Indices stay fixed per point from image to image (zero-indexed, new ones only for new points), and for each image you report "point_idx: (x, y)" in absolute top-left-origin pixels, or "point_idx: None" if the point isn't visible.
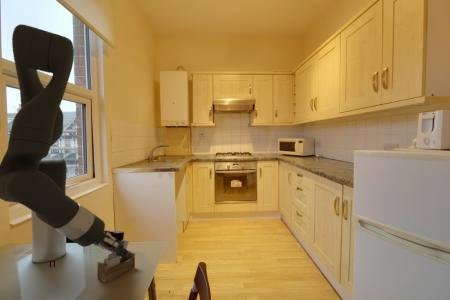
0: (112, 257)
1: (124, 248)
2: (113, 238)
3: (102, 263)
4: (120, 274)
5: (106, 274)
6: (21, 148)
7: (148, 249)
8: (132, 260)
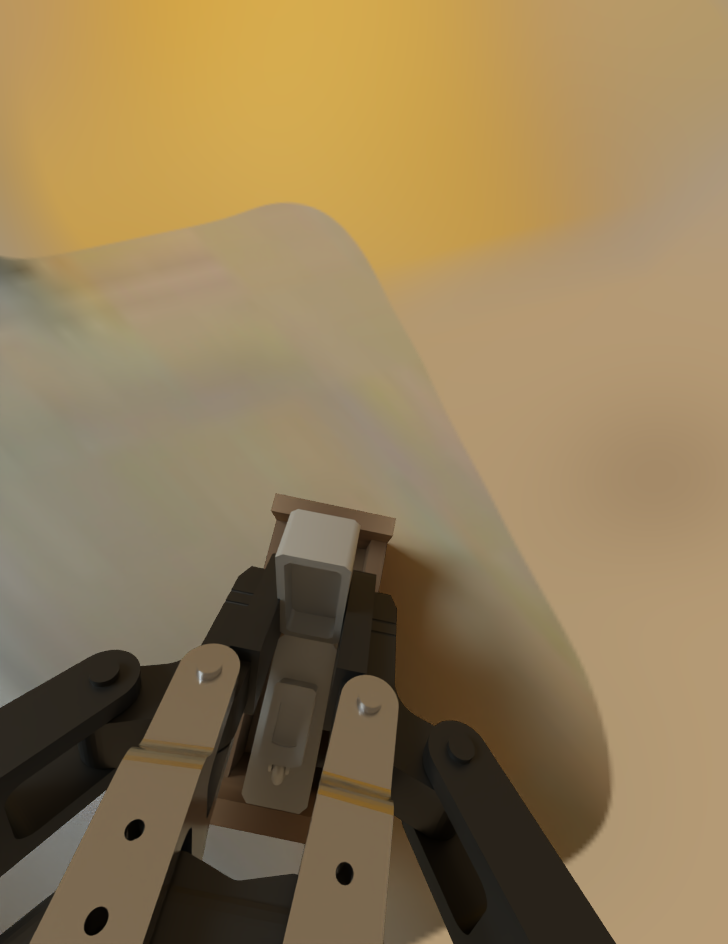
0: (308, 733)
1: (371, 618)
2: (378, 927)
3: (253, 814)
4: None
5: None
6: None
7: (297, 310)
8: (385, 551)
